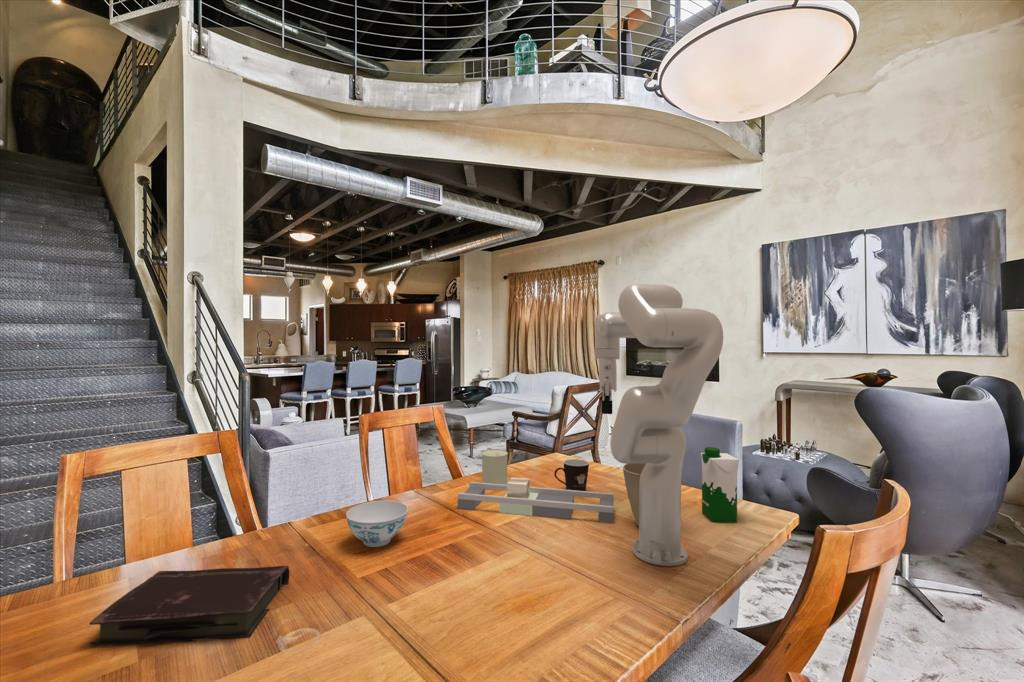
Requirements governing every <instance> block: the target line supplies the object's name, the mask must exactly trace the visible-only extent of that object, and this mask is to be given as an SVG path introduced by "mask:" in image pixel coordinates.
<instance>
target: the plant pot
mask: <svg viewBox="0 0 1024 682" xmlns="http://www.w3.org/2000/svg"><path fill="white" fill-rule="evenodd" d="M645 465H646V463H640V464H623V465H622V472H623V476H624V477H623V478H624V483H625V485H624V486H625V489H626V492H627V497H628V501H629V505H630V508H631V511H632V515H633V517H634V520H635V522H636V523H635V524H636V526H637V527H638V526H639V481H640V476H641V473H642V470H643V469H644V467H645Z"/></svg>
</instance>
